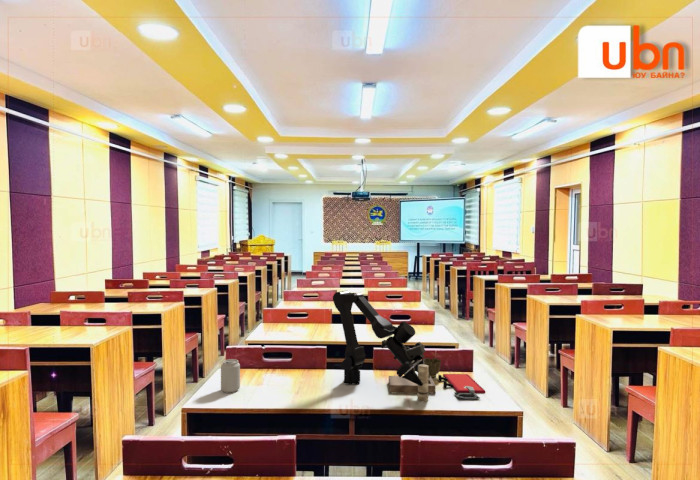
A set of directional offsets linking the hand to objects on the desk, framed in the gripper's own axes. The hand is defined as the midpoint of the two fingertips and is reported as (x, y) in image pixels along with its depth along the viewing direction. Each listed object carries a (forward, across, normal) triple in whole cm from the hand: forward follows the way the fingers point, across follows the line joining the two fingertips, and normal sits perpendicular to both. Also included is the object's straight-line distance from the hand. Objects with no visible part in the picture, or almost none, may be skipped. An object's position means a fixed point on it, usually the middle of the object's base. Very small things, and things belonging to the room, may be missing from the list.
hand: (425, 381), depth 170 cm
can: (-47, -26, +57) cm, 79 cm away
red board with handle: (+12, +21, -1) cm, 24 cm away
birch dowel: (+4, 0, +6) cm, 7 cm away
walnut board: (-2, +11, +12) cm, 16 cm away
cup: (+1, +28, +9) cm, 29 cm away
